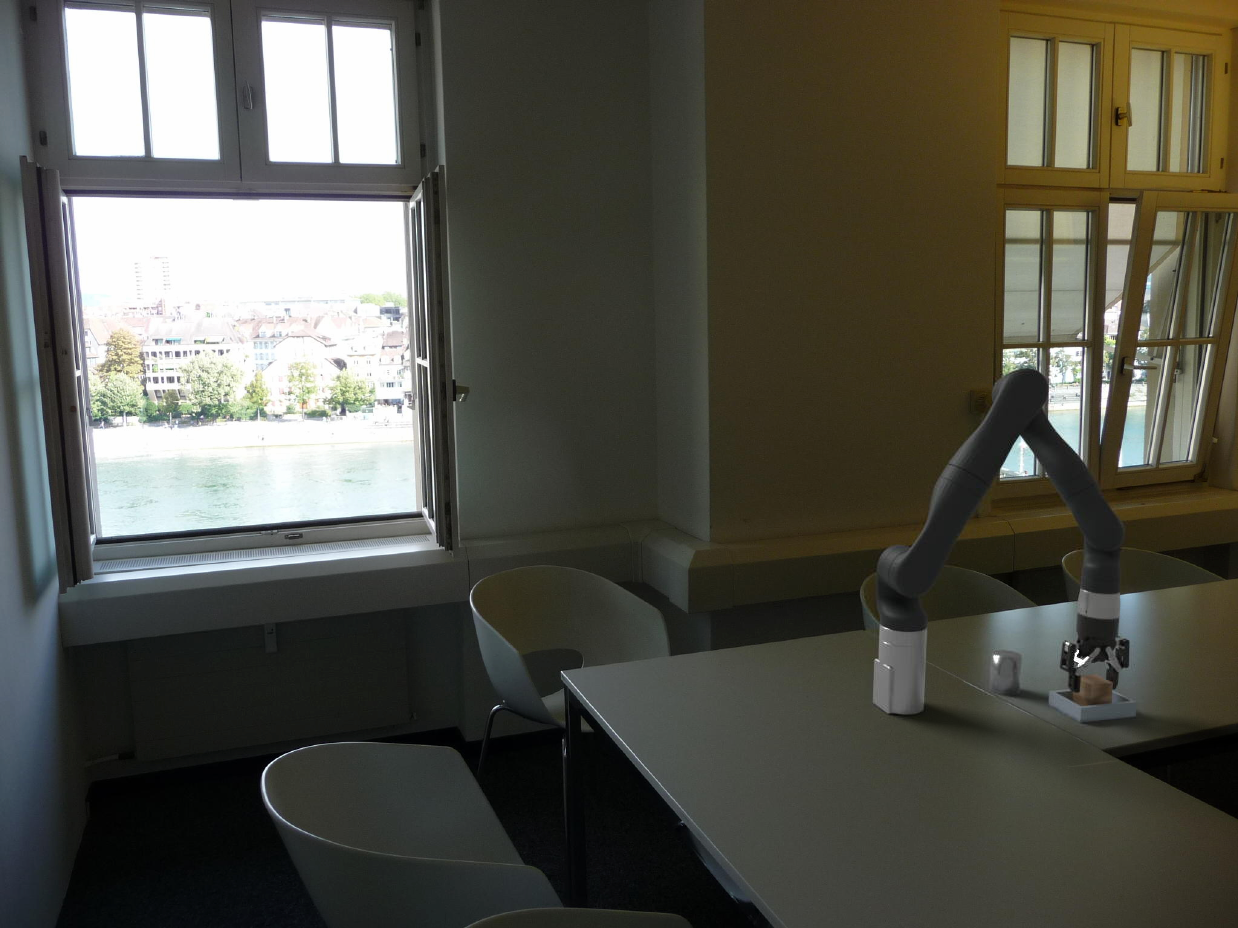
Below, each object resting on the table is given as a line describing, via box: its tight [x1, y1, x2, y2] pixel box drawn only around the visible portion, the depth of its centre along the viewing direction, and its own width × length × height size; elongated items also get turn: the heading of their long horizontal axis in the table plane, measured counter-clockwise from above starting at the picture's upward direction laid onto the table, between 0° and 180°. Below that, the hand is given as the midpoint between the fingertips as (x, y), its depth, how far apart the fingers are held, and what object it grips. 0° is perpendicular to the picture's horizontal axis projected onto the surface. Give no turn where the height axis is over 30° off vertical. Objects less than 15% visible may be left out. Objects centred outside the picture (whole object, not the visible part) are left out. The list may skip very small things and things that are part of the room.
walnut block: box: [1072, 673, 1114, 706], centre depth 192 cm, size 5×5×6 cm
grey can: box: [989, 649, 1023, 697], centre depth 203 cm, size 6×6×8 cm
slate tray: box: [1048, 688, 1138, 724], centre depth 192 cm, size 13×9×3 cm
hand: (1092, 689), depth 191 cm, fingers open, 8 cm apart
